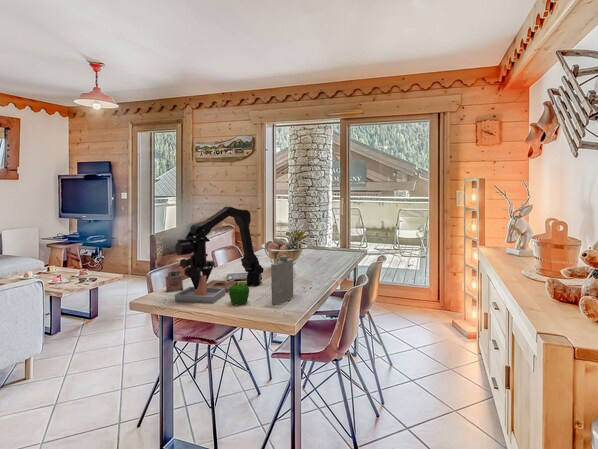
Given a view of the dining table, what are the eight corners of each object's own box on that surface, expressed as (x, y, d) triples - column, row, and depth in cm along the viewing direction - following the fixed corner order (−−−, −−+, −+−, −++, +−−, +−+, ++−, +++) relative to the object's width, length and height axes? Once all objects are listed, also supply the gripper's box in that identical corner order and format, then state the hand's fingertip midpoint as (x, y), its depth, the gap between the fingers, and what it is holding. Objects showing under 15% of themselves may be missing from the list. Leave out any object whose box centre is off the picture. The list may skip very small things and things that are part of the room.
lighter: (166, 292, 173) (165, 272, 172) (165, 291, 176) (164, 271, 175) (183, 290, 177) (183, 270, 176) (182, 288, 180) (181, 269, 179)
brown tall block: (206, 294, 166) (206, 275, 165) (203, 297, 162) (202, 277, 161) (198, 294, 167) (198, 275, 166) (194, 296, 163) (194, 277, 162)
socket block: (237, 284, 187) (237, 281, 186) (227, 292, 173) (227, 288, 173) (212, 283, 189) (212, 280, 189) (200, 291, 175) (200, 287, 175)
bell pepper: (225, 303, 156) (224, 281, 155) (240, 299, 162) (239, 277, 161) (237, 308, 150) (237, 284, 149) (252, 303, 156) (252, 280, 156)
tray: (225, 294, 170) (225, 288, 170) (213, 303, 156) (213, 296, 156) (189, 292, 173) (189, 286, 173) (174, 301, 159) (174, 295, 159)
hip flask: (288, 294, 169) (288, 252, 167) (296, 295, 167) (295, 253, 165) (270, 304, 155) (269, 258, 153) (278, 305, 153) (278, 259, 151)
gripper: (192, 248, 173) (193, 280, 175) (172, 255, 155) (173, 291, 156) (214, 249, 171) (215, 281, 173) (196, 256, 153) (197, 292, 154)
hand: (200, 286), depth 164 cm, fingers open, 9 cm apart
